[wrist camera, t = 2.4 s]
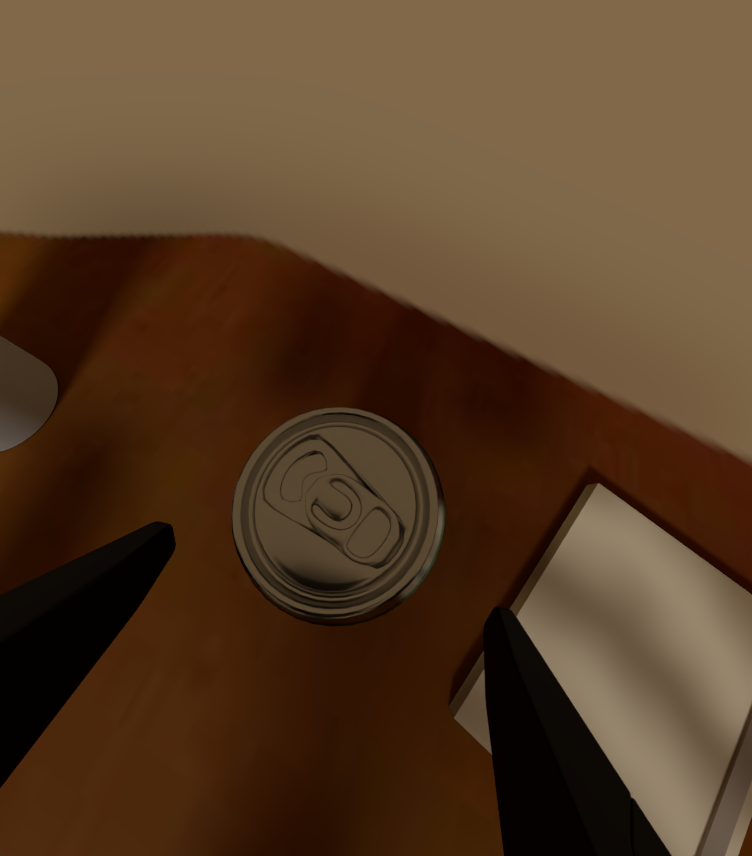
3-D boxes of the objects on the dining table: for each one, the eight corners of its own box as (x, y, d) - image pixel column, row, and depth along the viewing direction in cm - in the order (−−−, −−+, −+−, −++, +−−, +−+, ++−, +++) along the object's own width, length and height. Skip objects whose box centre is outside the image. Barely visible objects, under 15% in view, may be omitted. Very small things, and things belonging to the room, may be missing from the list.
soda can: (350, 456, 19) (323, 351, 8) (418, 510, 18) (503, 482, 7) (293, 526, 18) (157, 524, 6) (363, 587, 17) (352, 712, 6)
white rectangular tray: (678, 927, 13) (706, 962, 12) (448, 706, 15) (454, 719, 14) (787, 632, 17) (816, 640, 16) (586, 485, 19) (600, 482, 18)
